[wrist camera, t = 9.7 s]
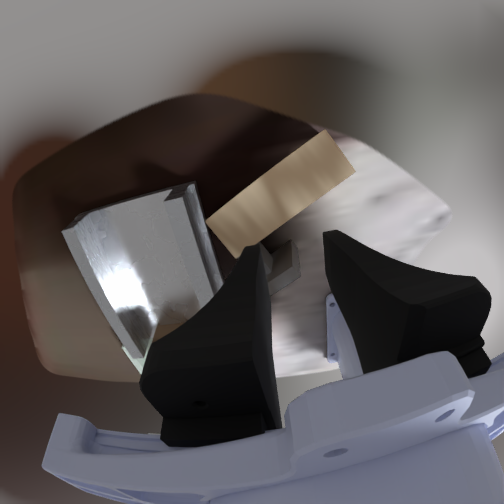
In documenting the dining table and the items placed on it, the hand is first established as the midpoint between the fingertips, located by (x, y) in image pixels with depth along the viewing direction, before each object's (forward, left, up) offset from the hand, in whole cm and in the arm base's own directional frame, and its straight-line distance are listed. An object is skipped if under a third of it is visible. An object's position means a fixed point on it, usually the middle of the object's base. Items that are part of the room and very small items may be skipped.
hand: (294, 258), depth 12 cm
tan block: (-3, +3, -7) cm, 8 cm away
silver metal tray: (-5, +10, -9) cm, 14 cm away
